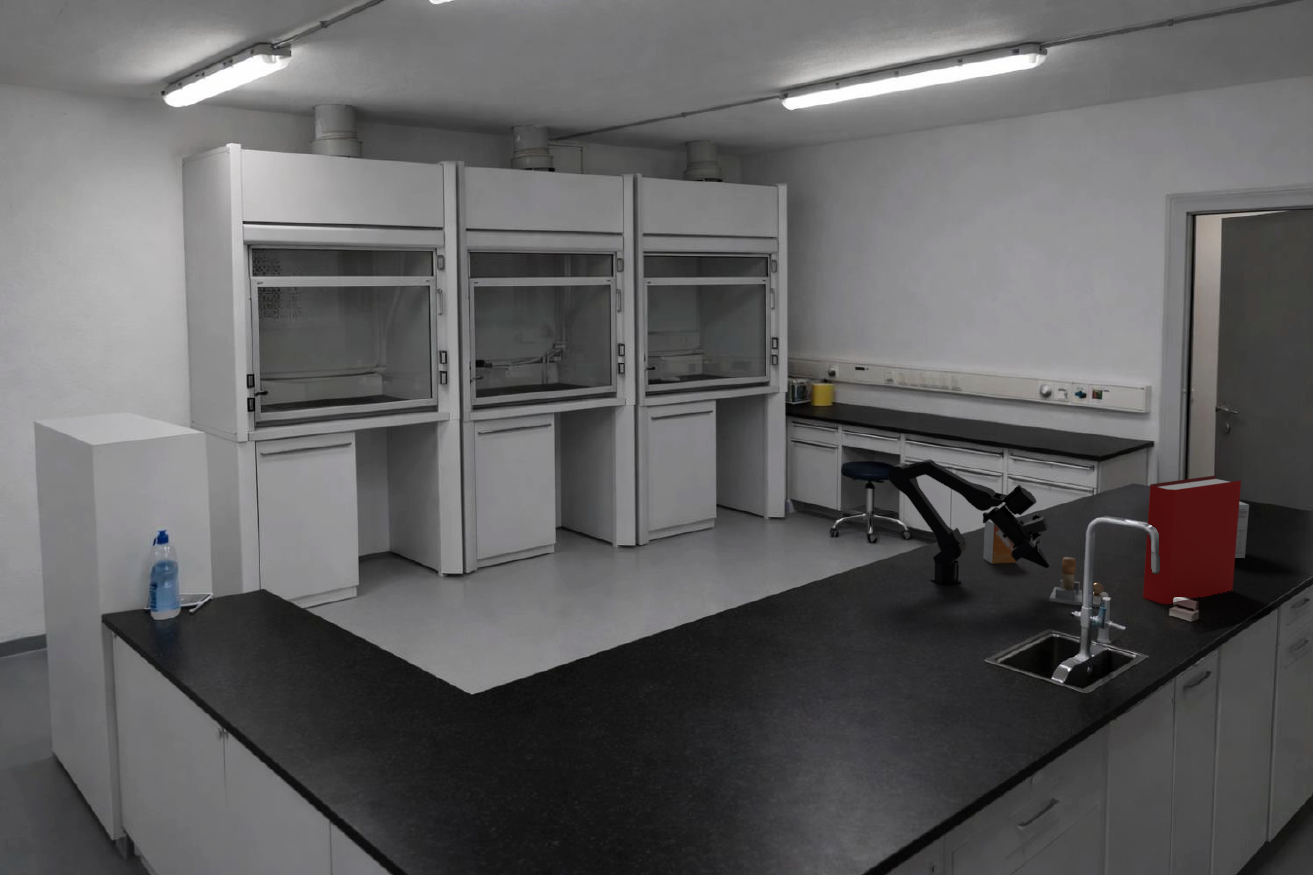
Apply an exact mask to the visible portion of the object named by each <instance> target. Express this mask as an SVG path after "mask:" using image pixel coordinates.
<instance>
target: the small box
mask: <svg viewBox="0 0 1313 875" xmlns="http://www.w3.org/2000/svg"><path fill="white" fill-rule="evenodd" d="M1002 535H1003V533H1002V532H1001V531H1000V530H999V529H998V528H997V527H996V525H995V524H994V523H993V522H992V521H991V520H990V519H989V520H988V521H987V522H986V523H984V537H983V538H984V539H983V560H985V561H986V562H988V563H990V564H994V565H995V564H1016V563H1017V561H1015V560H1014V559H1013V558H1012V557H1011V554H1012V551H1013V549H1014V548H1013V544H1012V543H1011V542H1010V541H1009V539H1008V538H1007V537H1006V538H1004V537H1003V536H1002Z"/></svg>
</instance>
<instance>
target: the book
mask: <svg viewBox="0 0 1313 875" xmlns="http://www.w3.org/2000/svg"><path fill="white" fill-rule="evenodd" d="M1241 484H1242V480H1234V481H1228V480H1223V479H1219V478H1217V477H1216V475H1209V476H1208V475H1207V476H1201V477H1195V478H1187V479H1181V480H1173V481H1164V482H1156V483H1151V484H1149V497H1148V498H1149V500H1148V513H1147V514H1148V516H1147V525H1148V524H1150V525H1152V526H1153V527H1155V528H1156V529H1157V531H1158V533H1159V556H1160V571H1159V574H1153V573H1152V569H1151V540H1150V537H1149V535H1148V534H1147V533H1146V544H1145V545H1146V546H1145V558H1144V559H1145V561H1144V575H1143V578H1144V579H1143V593H1142V594H1143V595H1142V598H1143V599H1145V600H1148V601H1152V602H1155V603H1157V604H1159V605H1161V604H1163V605H1171V604H1174V603H1173V598H1174V597H1187V598H1196V599H1198V598H1197V597H1201V598H1204V597H1208V596H1209V597H1211V596H1214V595H1213V594H1215V595H1219V594H1218V593H1220V594H1224V593H1223V592H1225V593H1228V592H1227V591H1230V592H1232V591H1233V588H1234V587H1233V586H1234V575H1235V574H1234V573H1235V566H1236V565H1235V564H1236V563H1235V562H1236V559H1235V552H1236V539H1237V527H1238V514H1239V501H1240V502H1241V488H1242V485H1241ZM1231 590H1232V591H1231Z"/></svg>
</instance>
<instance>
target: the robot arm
mask: <svg viewBox="0 0 1313 875" xmlns="http://www.w3.org/2000/svg"><path fill="white" fill-rule="evenodd" d="M887 473H888V474H887V478H888V481H889V482H890V484H892V485H893V487H895V488H896V489H897V490H898V491H899V492H901V493H903V494H904V495H905V496H906V497H907V498H908V499H909V501H910V503H911V504H912V505H913V506H914V507H915V509H916V511H917V512H918V513H919V515H920V517H922V519H923V520H924V522H925V524H927V526H928V527H929V529H930V530H931V531H932V533H933V535H934V536H935V540H936V543H937V544H936V545H937V546H938V548H939V551H938V552H937V553H936V554H935V555H934V556H933V558H932V559H933V562H934V575H933V576H934V577H931V578H930V581H933V582H934V583H937V584H940V585H942V586H949V585H955V584H959V583H962V580H961V579H959V568H960V566H959V560H958V559H959V558H960V557H961V556H962V555H963V554H964V552H965V551H966V549H967V542H966V537H965V536H963V534H962V533H961V531H960V529H959V528H958V527H955V529H952V528H951V527H949V525H948V524H947V523H946V522H945V520H944V519H943V518H942V516H941V515H940V513H938V512H939V511H937V509H936V508H935V507H934V505H933V503H932V502H931V501H930V500H929V498H928V497H927V496H926V494H925V492H924V491H923V490H922V488H921V487H920V485H919V482H918V477H922V476H928V477H930V478H932V480H935V481H936V482H938V483H940V484H942V485H944V487H945V486H946V487H947V488H948V489H951V490H953V491H954V492H956V493H958V494H960V495H961V496H962V497H963V498H964V499H965V500H966V501H967V502H968V503H969V504H970V505H971V506H973V507H974V508H975V509H977V511H980V512H983V513H982V524H985V523H986V522H987V521H988V520H989V519H990V520H991V521H992V522H993V523H994V524H995V525H996V527H997V528H998V529H999V530H1000V531H1001V532H1002V533H1003V535H1002V536H1003V537H1004V538H1006V537H1007V538H1008V539H1009V541H1010V542H1011V543H1012V544H1013V548H1014V549H1013V551H1012V554H1011V557H1012V558H1013V559H1014V560H1015V561H1016V562H1018V561H1019V560H1020V559H1024V560H1027V561H1030V562H1031V563H1034V564H1036V565H1038V566H1040V567H1042V568H1045V569H1048V568H1049V567H1050V566H1051V565H1050V563H1049V562H1048V559H1047V558H1046V556H1045V554H1044V552H1043V551H1042V549H1041V541H1042V540H1041V538H1040V539H1038V540H1036V539H1037V538H1038V537H1041V536H1042V535H1043V533H1044V532H1045V531H1047V530H1048V528H1049V525H1048V522H1047V518H1045V516H1041V515H1040V514H1039V513H1037V514H1033V515H1032V518H1031V520H1029V521H1027V522H1025V521H1024V520H1023V519H1018V518H1017V517H1016V516H1015V515H1019V516H1021V515H1023V514H1024V513H1025V512H1027V511H1028V510H1029V509H1030V508H1032V507H1033V506H1034V505H1035V504H1036V503H1037V498H1036V497H1035V496H1034V495H1033V494H1032V492H1031V491H1028V490H1027V489H1026V488H1025V487H1022V486H1021V485H1020V484H1018V485H1016V487H1015V488H1014V489H1013V490H1012V491H1010V492H1009V493H1008V494H1005V493H1001V492H1000V493H999V492H996V491H995V490H994V489H992V488H990V487H989V486H986V485H982V484H980V483H974V482H971V481H968V480H967V479H965V478H963V477H962V476H960V475H958V474H956V473H954V472H952V471H950V470H949V469H947V468H945V467H943V466H942V465H940V464H939V463H936V462H935V460H932V459H925V460H922V461H919V462H913V463H905V462H901V463H898V464H896V465H895V466H893V467H891V468H890V469H889V471H888V472H887ZM1003 503H1004V504H1003ZM1001 505H1002V506H1001ZM999 506H1000V507H999ZM991 508H992V509H991ZM990 509H991V510H990ZM988 510H989V512H985V511H988Z"/></svg>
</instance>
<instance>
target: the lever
mask: <svg viewBox="0 0 1313 875" xmlns="http://www.w3.org/2000/svg"><path fill="white" fill-rule="evenodd" d="M1076 562H1077V560H1076V558H1074V557H1069V556H1065V557H1063V558H1062V564H1061V573H1062V576H1061V577H1062V579H1061V580H1062V588H1064V589H1069V590H1071V589H1073V588H1074V581H1075V574H1076V564H1077V563H1076Z"/></svg>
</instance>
